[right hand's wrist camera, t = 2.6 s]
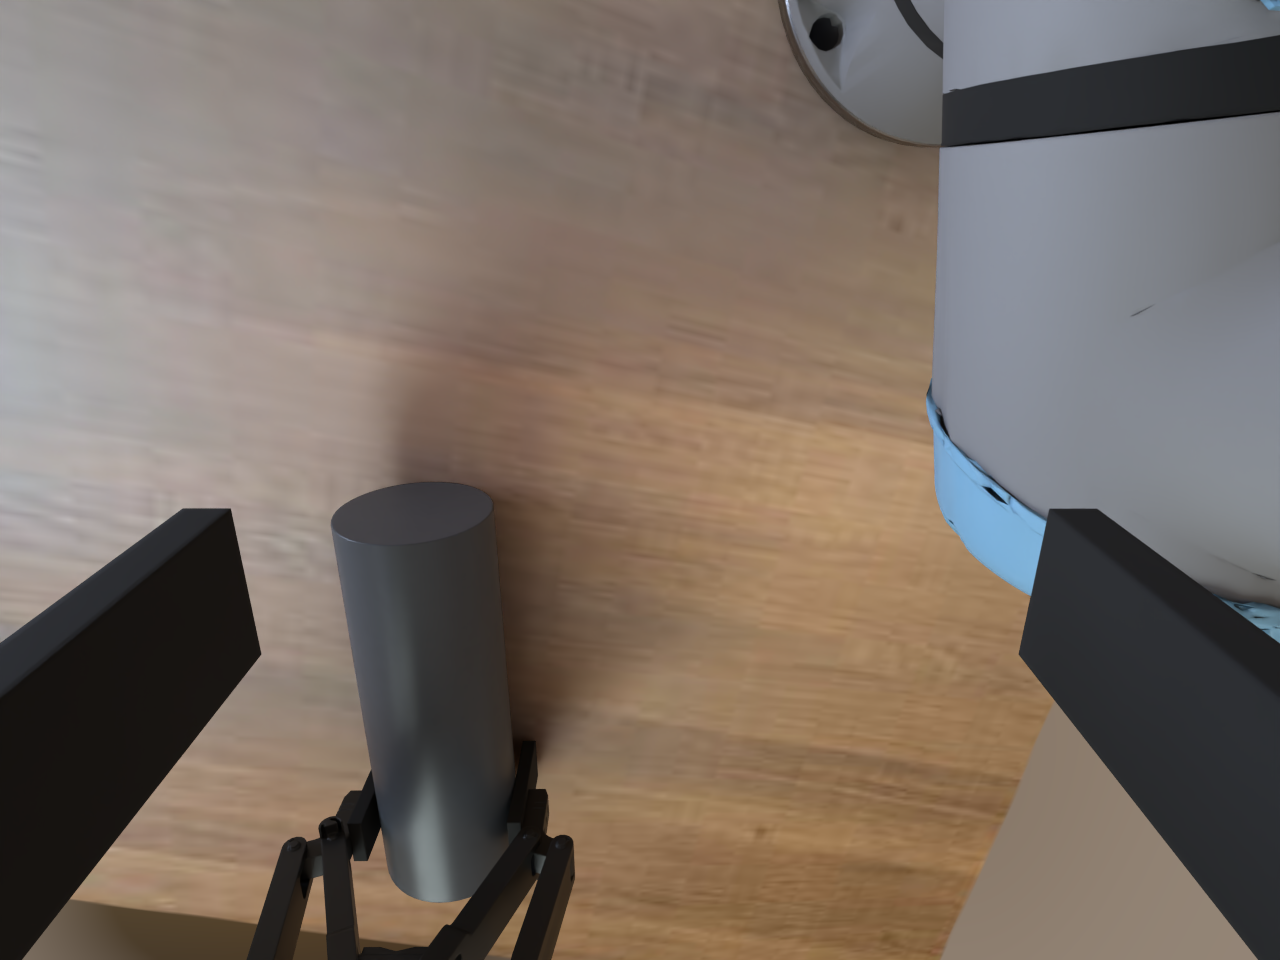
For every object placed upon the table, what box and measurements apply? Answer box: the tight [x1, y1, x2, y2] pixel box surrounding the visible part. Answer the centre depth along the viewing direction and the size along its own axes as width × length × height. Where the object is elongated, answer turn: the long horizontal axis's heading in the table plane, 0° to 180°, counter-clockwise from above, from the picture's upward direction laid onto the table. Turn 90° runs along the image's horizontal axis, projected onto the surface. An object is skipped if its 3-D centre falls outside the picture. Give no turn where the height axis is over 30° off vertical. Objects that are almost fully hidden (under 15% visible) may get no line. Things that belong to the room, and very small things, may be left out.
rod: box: [331, 482, 516, 903], centre depth 43 cm, size 22×8×8 cm, turn 0°
